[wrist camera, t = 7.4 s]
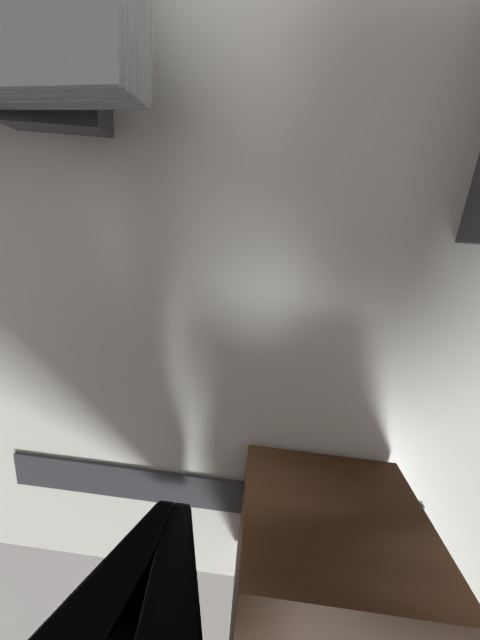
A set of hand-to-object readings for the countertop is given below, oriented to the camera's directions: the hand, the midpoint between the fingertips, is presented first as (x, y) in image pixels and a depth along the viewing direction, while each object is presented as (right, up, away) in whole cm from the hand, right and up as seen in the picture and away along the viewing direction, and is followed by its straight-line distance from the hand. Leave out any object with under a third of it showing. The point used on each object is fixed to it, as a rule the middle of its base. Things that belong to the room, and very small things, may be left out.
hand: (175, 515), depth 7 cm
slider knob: (+3, 0, 0) cm, 3 cm away
